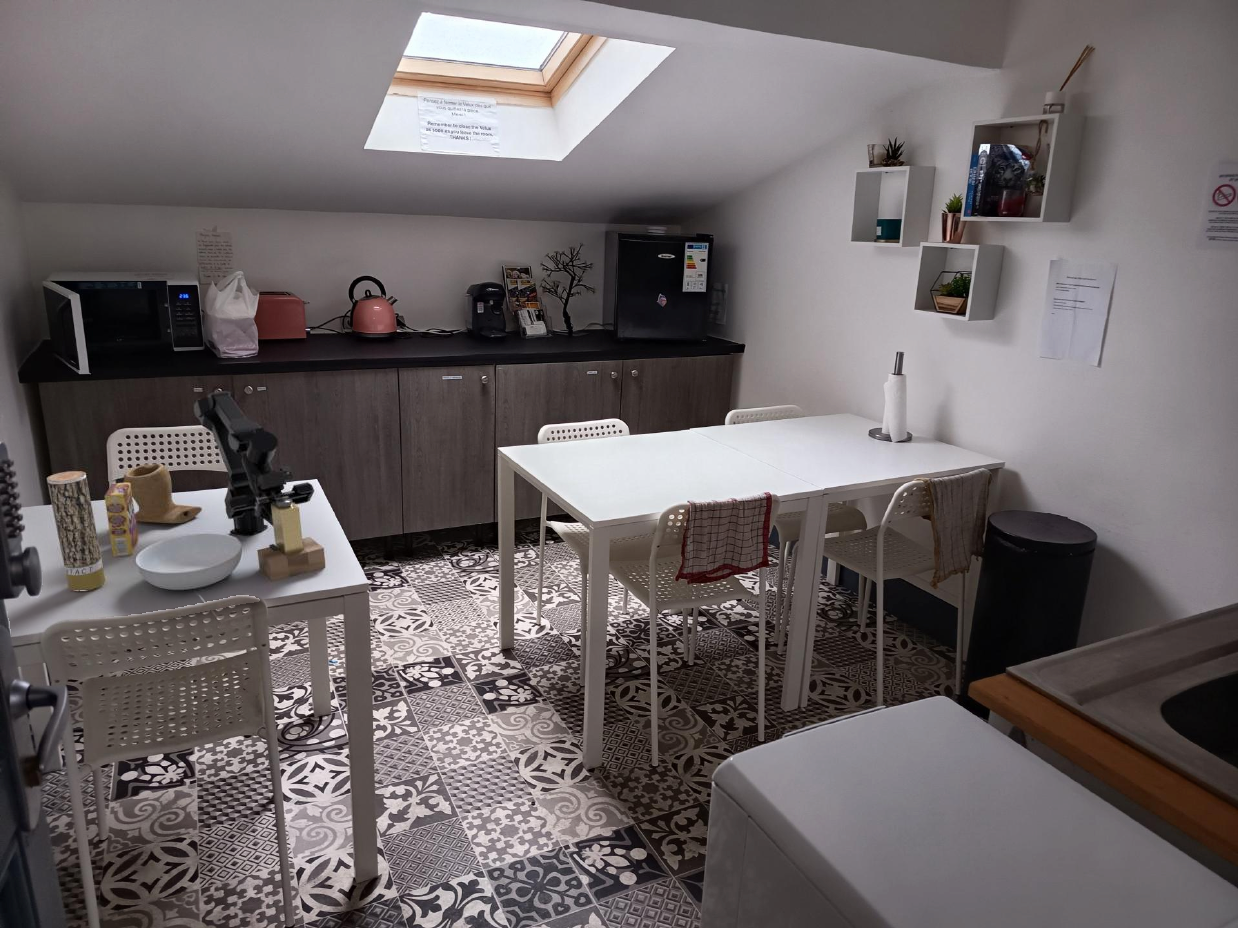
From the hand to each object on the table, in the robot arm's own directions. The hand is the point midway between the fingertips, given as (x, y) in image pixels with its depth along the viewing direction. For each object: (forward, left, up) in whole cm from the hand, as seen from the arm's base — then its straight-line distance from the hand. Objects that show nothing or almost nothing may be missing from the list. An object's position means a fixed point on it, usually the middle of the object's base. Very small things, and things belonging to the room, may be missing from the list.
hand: (282, 532), depth 191 cm
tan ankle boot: (-46, +11, -8) cm, 48 cm away
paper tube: (-32, -24, -8) cm, 41 cm away
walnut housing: (+3, -2, -8) cm, 8 cm away
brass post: (+3, -2, -7) cm, 8 cm away
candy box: (-40, -6, -8) cm, 41 cm away
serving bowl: (-13, -14, -8) cm, 21 cm away
